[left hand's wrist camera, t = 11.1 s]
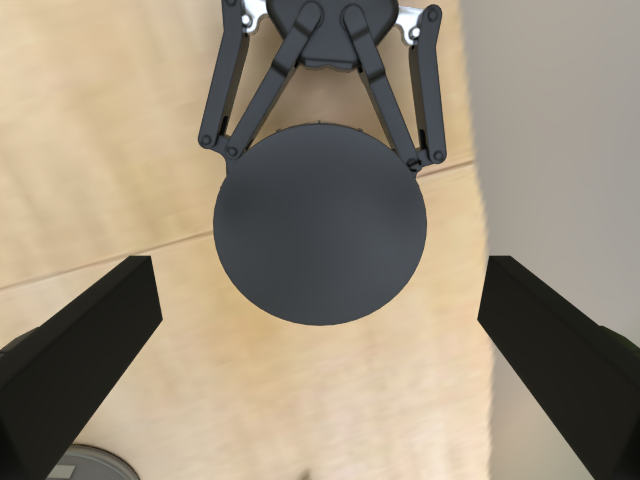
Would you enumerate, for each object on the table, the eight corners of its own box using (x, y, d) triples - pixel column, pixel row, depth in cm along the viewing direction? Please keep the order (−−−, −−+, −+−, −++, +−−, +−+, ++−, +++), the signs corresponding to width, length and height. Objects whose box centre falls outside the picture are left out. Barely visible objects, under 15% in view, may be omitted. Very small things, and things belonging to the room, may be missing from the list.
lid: (303, 341, 23) (302, 358, 21) (177, 208, 19) (165, 217, 18) (455, 243, 20) (466, 254, 19) (340, 72, 17) (342, 69, 15)
